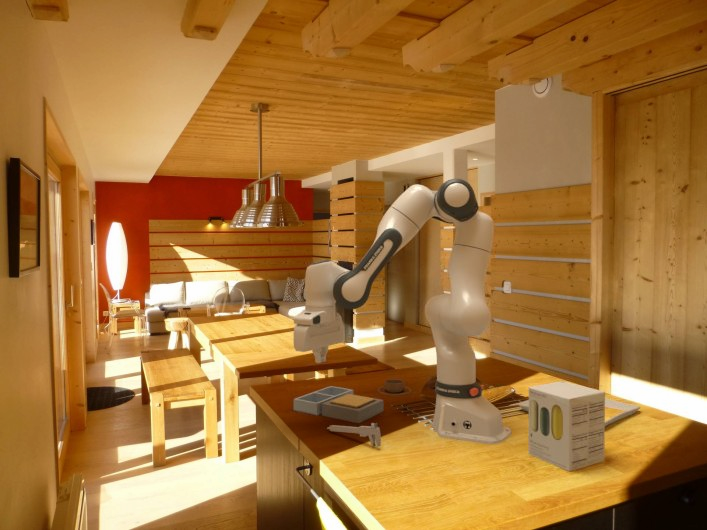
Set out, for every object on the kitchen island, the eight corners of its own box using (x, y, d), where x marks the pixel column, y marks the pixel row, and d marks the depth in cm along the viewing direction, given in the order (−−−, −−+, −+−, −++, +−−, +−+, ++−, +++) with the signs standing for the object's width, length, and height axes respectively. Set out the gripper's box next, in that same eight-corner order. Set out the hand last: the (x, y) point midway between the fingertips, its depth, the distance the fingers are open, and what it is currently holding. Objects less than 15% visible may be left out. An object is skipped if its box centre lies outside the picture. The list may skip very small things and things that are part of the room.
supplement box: (526, 454, 145) (526, 386, 144) (562, 445, 151) (562, 380, 150) (569, 472, 133) (569, 398, 132) (605, 461, 139) (606, 391, 139)
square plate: (601, 436, 158) (601, 422, 158) (515, 414, 179) (515, 402, 179) (641, 416, 176) (641, 404, 176) (559, 399, 197) (559, 387, 197)
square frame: (383, 412, 181) (383, 400, 181) (358, 424, 169) (358, 410, 169) (347, 405, 189) (347, 393, 189) (322, 416, 177) (321, 403, 177)
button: (374, 411, 180) (374, 398, 180) (357, 419, 172) (357, 406, 172) (349, 406, 186) (349, 394, 186) (330, 413, 178) (330, 401, 178)
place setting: (386, 387, 215) (386, 371, 215) (438, 392, 207) (438, 376, 207) (370, 399, 199) (370, 382, 198) (426, 404, 191) (426, 387, 191)
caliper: (380, 447, 149) (381, 424, 148) (378, 448, 148) (378, 425, 148) (329, 428, 163) (329, 407, 163) (326, 429, 163) (326, 408, 162)
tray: (331, 397, 199) (330, 385, 199) (353, 401, 194) (353, 389, 193) (293, 411, 183) (293, 399, 182) (317, 416, 177) (316, 403, 177)
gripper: (332, 311, 176) (332, 355, 177) (289, 318, 160) (289, 367, 160) (349, 312, 173) (349, 357, 173) (306, 320, 156) (307, 369, 157)
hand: (320, 362), depth 167 cm, fingers closed
